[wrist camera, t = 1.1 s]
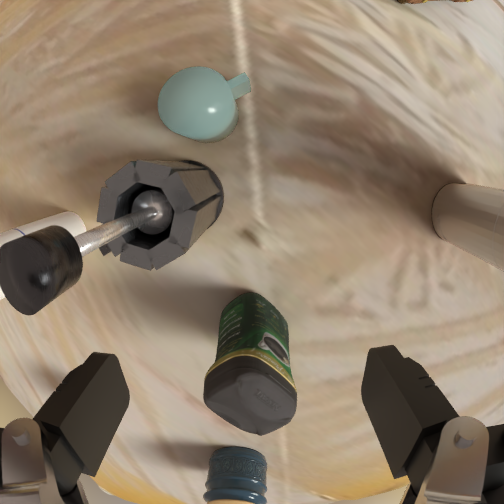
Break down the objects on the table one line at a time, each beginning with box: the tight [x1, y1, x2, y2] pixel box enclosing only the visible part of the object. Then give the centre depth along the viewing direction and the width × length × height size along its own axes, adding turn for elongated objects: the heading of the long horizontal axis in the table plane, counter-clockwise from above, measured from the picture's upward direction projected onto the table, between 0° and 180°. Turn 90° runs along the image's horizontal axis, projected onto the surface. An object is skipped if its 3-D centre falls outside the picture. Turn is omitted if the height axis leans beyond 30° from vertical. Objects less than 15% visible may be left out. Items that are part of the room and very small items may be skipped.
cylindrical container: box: [0, 211, 86, 300], centre depth 27 cm, size 7×7×25 cm
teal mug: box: [158, 67, 251, 143], centre depth 30 cm, size 10×8×9 cm
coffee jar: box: [203, 293, 297, 436], centre depth 33 cm, size 10×8×19 cm
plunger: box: [0, 190, 175, 315], centre depth 17 cm, size 4×4×18 cm
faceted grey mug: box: [97, 160, 224, 271], centre depth 30 cm, size 12×10×15 cm
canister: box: [203, 447, 267, 504], centre depth 44 cm, size 13×13×18 cm
